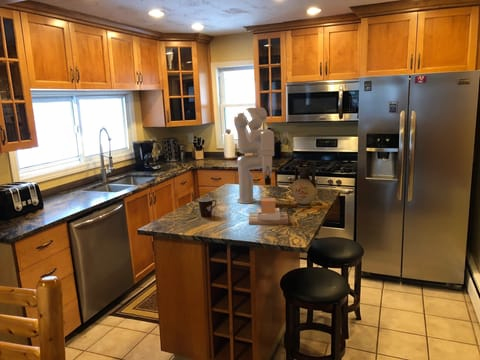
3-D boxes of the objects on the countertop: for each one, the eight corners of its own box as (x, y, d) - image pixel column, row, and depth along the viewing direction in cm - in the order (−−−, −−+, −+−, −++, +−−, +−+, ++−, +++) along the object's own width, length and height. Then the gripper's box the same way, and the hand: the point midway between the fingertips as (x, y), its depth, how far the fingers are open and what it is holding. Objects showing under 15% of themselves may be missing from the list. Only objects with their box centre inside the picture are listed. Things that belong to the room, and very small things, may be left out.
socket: (257, 213, 231) (257, 207, 230) (279, 213, 230) (279, 207, 230) (256, 219, 218) (256, 213, 217) (280, 219, 218) (280, 213, 217)
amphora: (322, 204, 255) (322, 158, 249) (311, 210, 241) (311, 162, 235) (297, 200, 264) (297, 157, 258) (286, 206, 251) (285, 160, 245)
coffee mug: (200, 218, 231) (199, 202, 229) (198, 214, 239) (197, 198, 237) (219, 216, 234) (218, 200, 232) (216, 212, 242) (215, 197, 240)
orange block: (261, 213, 227) (261, 198, 226) (275, 213, 227) (274, 198, 225) (261, 216, 221) (261, 201, 219) (275, 216, 220) (275, 201, 219)
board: (249, 215, 233) (249, 212, 233) (286, 215, 232) (286, 212, 231) (249, 224, 217) (248, 220, 217) (288, 223, 216) (288, 220, 216)
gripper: (260, 151, 225) (261, 179, 229) (260, 155, 209) (261, 186, 212) (273, 150, 225) (273, 179, 229) (274, 155, 208) (274, 186, 212)
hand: (267, 182), depth 220 cm, fingers open, 9 cm apart
